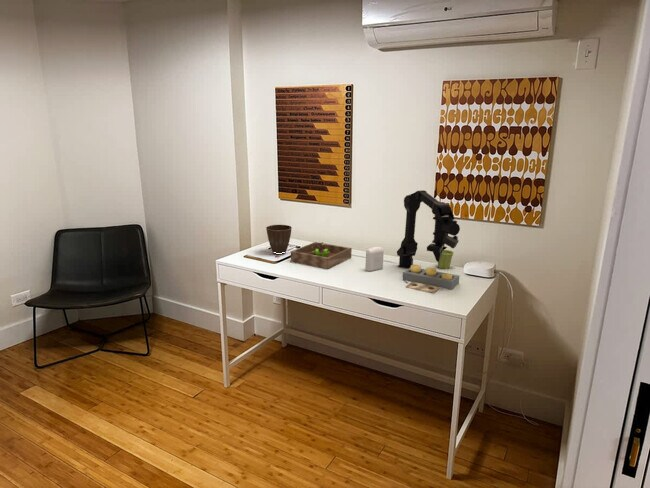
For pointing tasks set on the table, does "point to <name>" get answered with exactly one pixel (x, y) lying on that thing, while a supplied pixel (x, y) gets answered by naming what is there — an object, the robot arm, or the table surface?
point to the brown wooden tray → (319, 261)
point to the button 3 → (447, 276)
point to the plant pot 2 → (445, 259)
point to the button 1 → (415, 269)
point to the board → (431, 279)
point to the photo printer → (374, 259)
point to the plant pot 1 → (279, 238)
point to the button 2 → (431, 271)
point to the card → (422, 287)
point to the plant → (321, 251)
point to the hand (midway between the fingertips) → (437, 261)
